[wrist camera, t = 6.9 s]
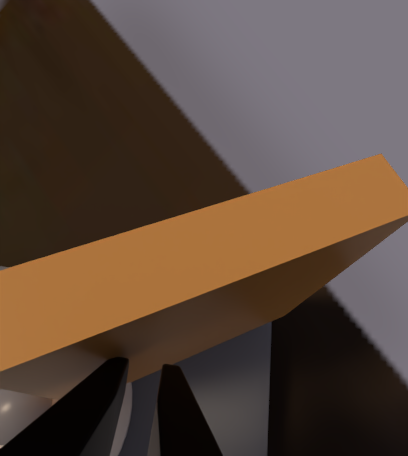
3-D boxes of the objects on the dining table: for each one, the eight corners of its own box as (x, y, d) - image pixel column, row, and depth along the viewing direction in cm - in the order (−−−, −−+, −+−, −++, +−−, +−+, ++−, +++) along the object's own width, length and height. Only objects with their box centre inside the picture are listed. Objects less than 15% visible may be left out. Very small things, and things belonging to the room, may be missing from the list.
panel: (250, 669, 13) (282, 755, 9) (-168, 625, 12) (-284, 701, 9) (265, 316, 18) (288, 295, 15) (-11, 272, 18) (-45, 240, 15)
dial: (-79, 592, 11) (-1026, 1311, 2) (-97, 348, 14) (-525, 229, 5) (311, 389, 16) (533, 350, 7) (233, 235, 19) (311, 63, 10)
